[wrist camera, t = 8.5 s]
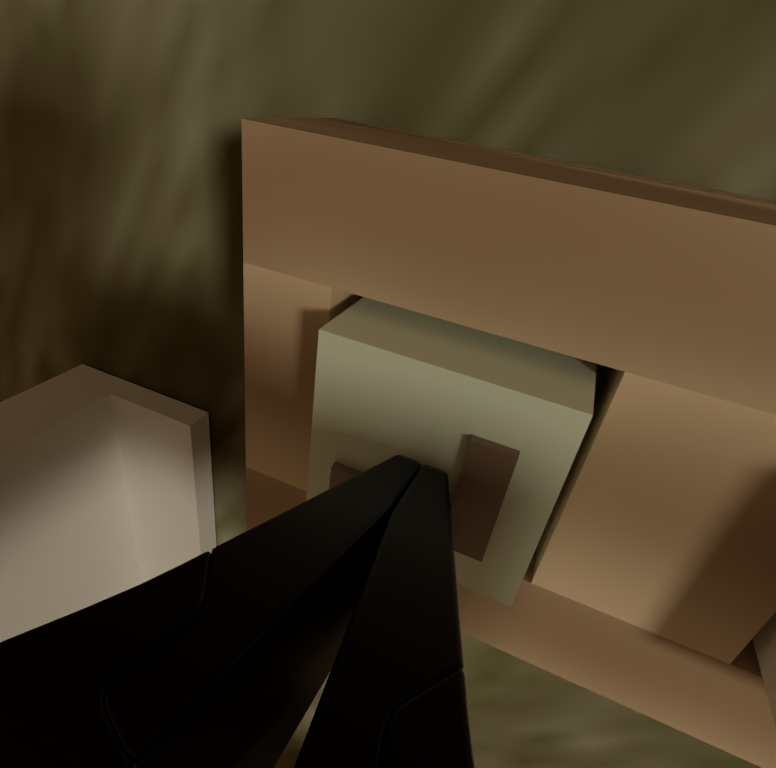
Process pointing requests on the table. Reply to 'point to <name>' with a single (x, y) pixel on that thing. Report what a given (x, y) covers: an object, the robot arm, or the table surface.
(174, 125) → the table surface
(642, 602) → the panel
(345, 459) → the button
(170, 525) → the grey screen
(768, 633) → the T button
